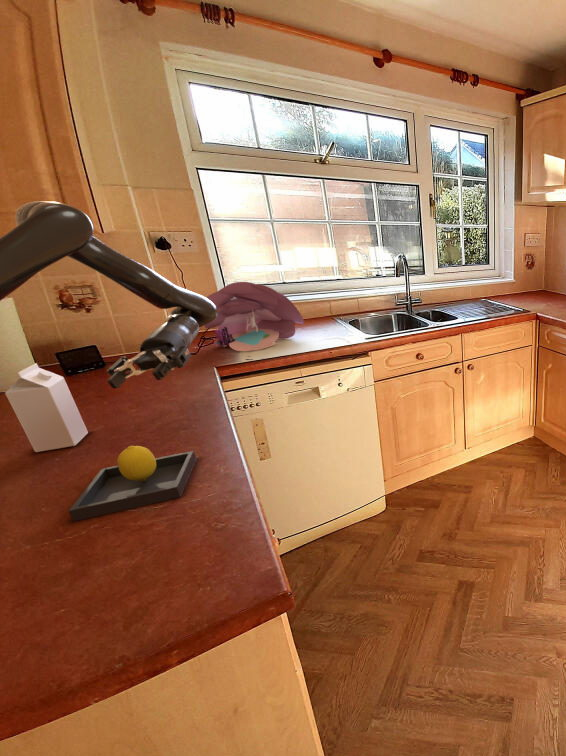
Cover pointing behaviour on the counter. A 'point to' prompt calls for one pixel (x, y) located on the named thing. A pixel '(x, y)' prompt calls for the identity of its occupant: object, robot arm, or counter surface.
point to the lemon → (136, 463)
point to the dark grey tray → (134, 487)
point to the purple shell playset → (252, 316)
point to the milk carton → (46, 409)
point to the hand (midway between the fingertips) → (134, 380)
